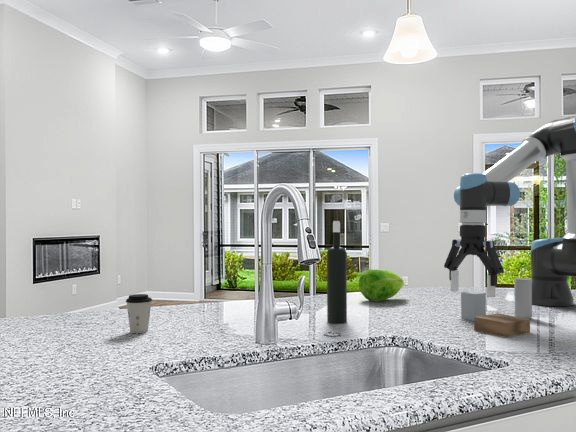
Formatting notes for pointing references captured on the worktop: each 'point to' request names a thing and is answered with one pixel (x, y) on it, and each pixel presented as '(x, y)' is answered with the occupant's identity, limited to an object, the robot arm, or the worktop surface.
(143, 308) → the coffee cup
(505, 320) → the walnut block
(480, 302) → the slate block
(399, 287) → the lettuce
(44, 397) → the worktop surface
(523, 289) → the beverage can
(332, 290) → the wine bottle
